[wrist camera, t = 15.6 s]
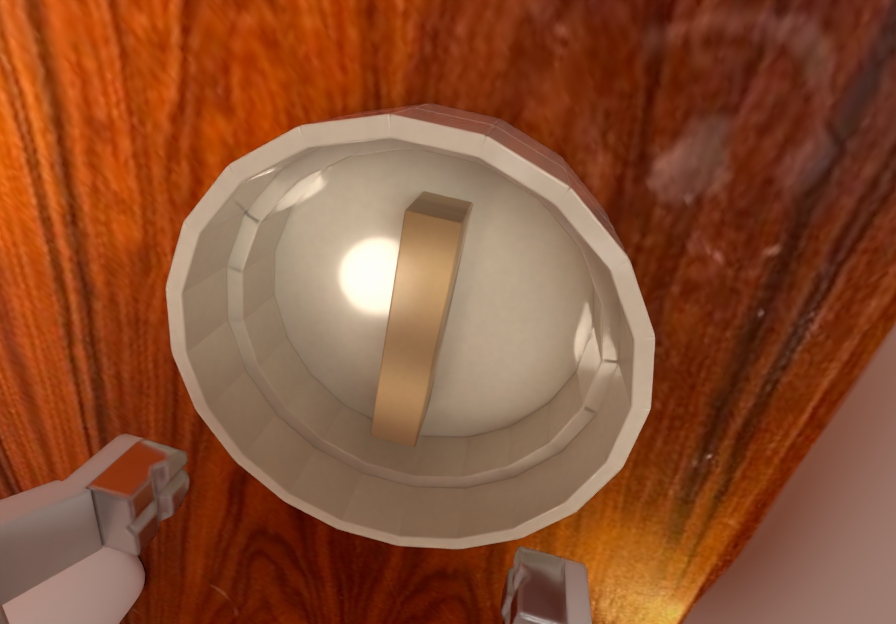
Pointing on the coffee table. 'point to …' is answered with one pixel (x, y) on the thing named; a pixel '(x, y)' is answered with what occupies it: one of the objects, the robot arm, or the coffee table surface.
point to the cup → (83, 592)
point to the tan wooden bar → (418, 313)
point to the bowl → (366, 316)
